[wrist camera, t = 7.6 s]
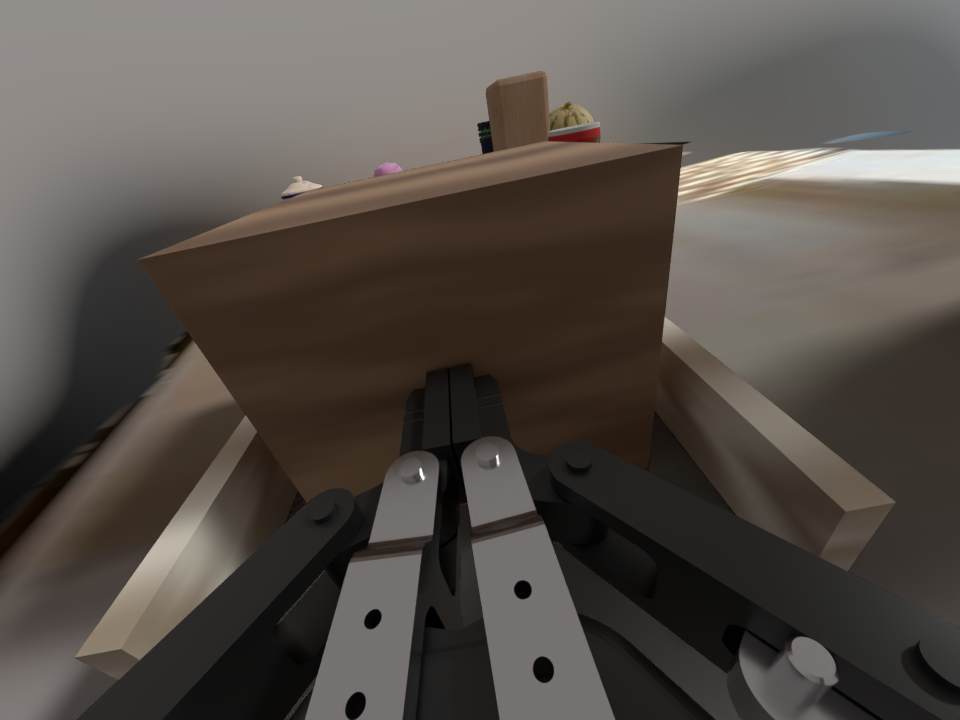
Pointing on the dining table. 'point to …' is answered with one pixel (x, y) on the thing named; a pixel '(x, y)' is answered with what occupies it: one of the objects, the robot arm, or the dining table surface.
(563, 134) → the canned food
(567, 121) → the cantaloupe
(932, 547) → the dining table surface
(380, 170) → the cupcake
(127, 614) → the tray
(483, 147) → the navy striped cylinder
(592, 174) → the walnut block
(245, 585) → the robot arm
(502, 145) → the block
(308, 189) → the teacup with lid
